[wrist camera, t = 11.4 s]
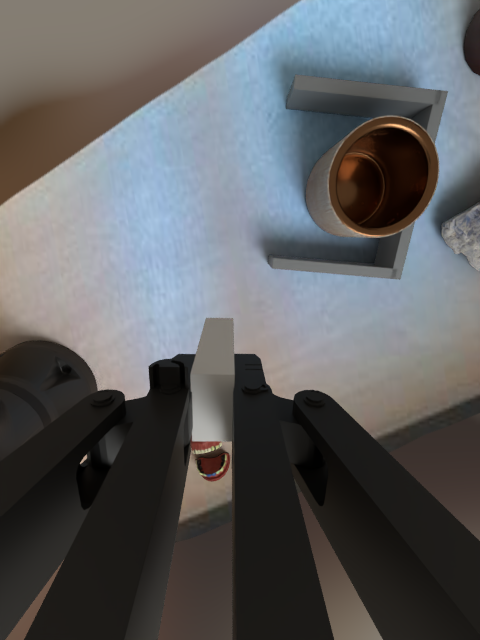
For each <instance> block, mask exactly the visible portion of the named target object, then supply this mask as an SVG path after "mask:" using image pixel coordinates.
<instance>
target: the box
mask: <svg viewBox="0 0 480 640" xmlns="http://www.w3.org/2000/svg"><path fill="white" fill-rule="evenodd" d="M447 93H448V91H440V90H431V89H422V88H413V87H404V86H394V85H385V84H376V83H367V82H358V81H349V80H340V79H331V78H322V77H313V76H303V75H295V77H294V80H293V82H292V85H291V88H290V90H289V93H288V96H287V103H286V109H293V110H303V111H312V112H322V113H331V114H341V115H350V116H359V117H369V118H376V117H380V116H387V115H395V116H402V117H406V118H409V119H411V120H413V121H415V122H416V123H418V124H419V125H421V126H422V127H423V128H424V129H425V130H426V131H427V132H428V134H429V135H430V137H431V138H432V140H433V142H434V144H435V140H436V136H437V132H438V128H439V124H440V121H441V117H442V113H443V109H444V105H445V101H446V97H447ZM414 223H415V222H414ZM414 223H413V224H411V225H410V226H409V227H407V228H406V229H404V230H402V231H400V232H398V233H396V234H393V235H390V236H386V237H381V238H380V240H379V244H378V249H377V253H376V258H375V262H374V264H369V263H358V262H347V261H335V260H324V259H313V258H301V257H290V256H279V255H269V260H268V264H269V265H270V266H271V267H272V268H273V269H285V270H296V271H308V272H320V273H331V274H343V275H354V276H366V277H377V278H389V279H400V278H401V275H402V271H403V267H404V263H405V259H406V255H407V251H408V247H409V243H410V239H411V235H412V231H413V227H414Z"/></svg>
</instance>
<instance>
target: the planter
mask: <svg viewBox="0 0 480 640" xmlns="http://www.w3.org/2000/svg"><path fill="white" fill-rule="evenodd" d="M438 177H439V158H438V153H437V149H436V147H435V144H434V142H433V140H432V138H431V137H430V135H429V134H428V132H427V131H426V130H425V129H424V128H423V127H422V126H421V125H419V124H418V123H416V122H415V121H413V120H411V119H409V118H406V117H402V116H395V115H387V116H380V117H376V118H373V119H371V120H368V121H366V122H364V123H363V124H361V125H359V126H358V127H356V128H355V129H354V130H353V131H351V132H350V133H349V134H348V135H347V136H345V137H344V138H343V139H342V140H341V141H339V142H338V143H337V144H335V145H334V146H333V147H332V148H330V149H329V150H328V151H327V152H326V153H324V154H323V155H322V156H321V157H320V159H319V160H318V161H317V162H316V164H315V166H314V167H313V169H312V171H311V173H310V176H309V178H308V182H307V186H306V203H307V207H308V211H309V213H310V215H311V217H312V219H313V220H314V222H315V223H316V224H317V225H318V226H319V227H320V228H321V229H323V230H324V231H326V232H327V233H330V234H332V235H335V236H340V237H365V238H381V237H386V236H390V235H393V234H396V233H398V232H400V231H402V230H404V229H406V228H407V227H409V226H410V225H411V224H413V223H414V222H415V221H416V220H417V219H418V218H419V217H420V216H421V215H422V213H423V212H424V211H425V210H426V208H427V207H428V205H429V203H430V201H431V199H432V197H433V195H434V193H435V190H436V187H437V183H438Z"/></svg>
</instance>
